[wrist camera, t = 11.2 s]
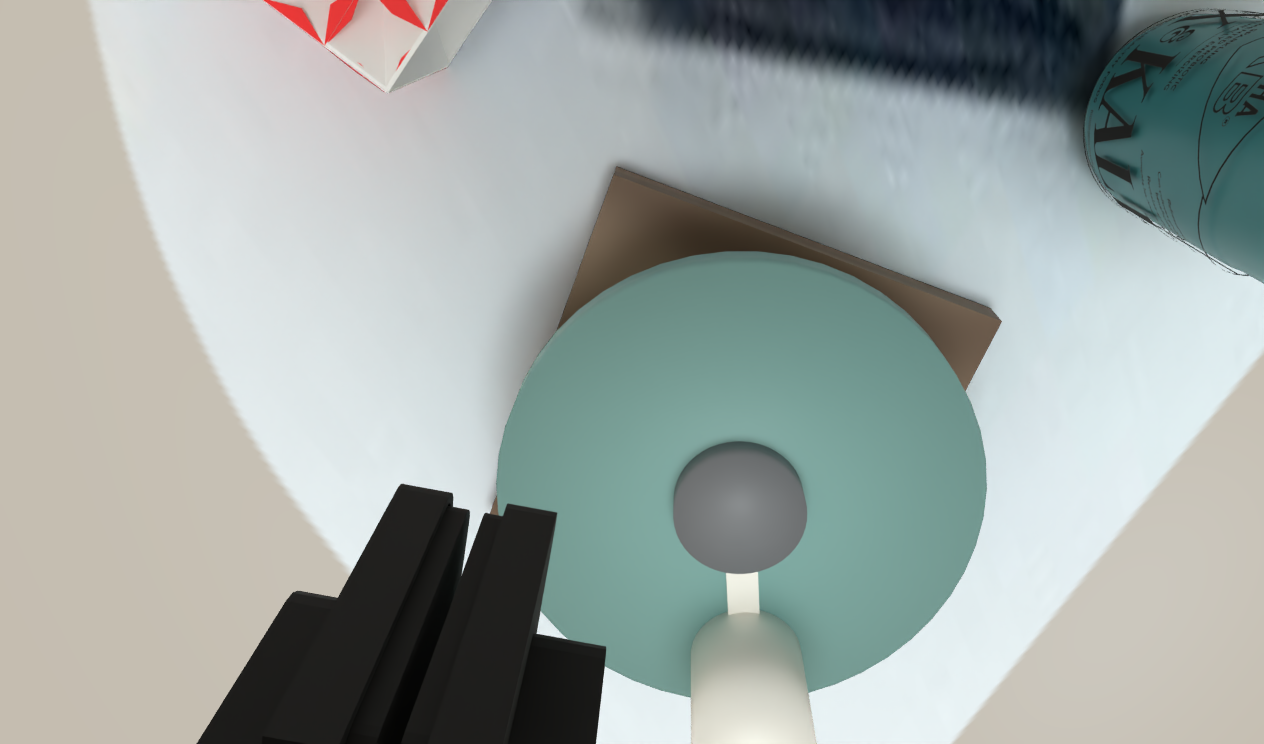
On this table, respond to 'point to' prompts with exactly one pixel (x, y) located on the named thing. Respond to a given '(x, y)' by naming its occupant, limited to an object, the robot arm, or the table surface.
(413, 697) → the robot arm
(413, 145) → the table surface
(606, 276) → the stand
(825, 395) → the handwheel
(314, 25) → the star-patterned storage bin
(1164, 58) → the beverage bottle
